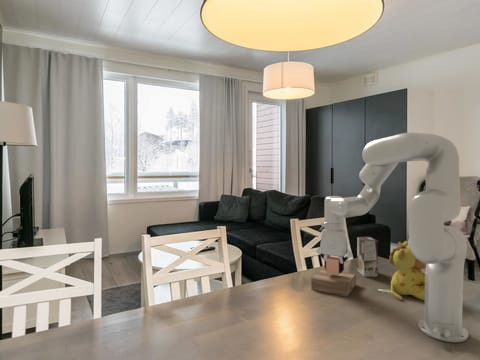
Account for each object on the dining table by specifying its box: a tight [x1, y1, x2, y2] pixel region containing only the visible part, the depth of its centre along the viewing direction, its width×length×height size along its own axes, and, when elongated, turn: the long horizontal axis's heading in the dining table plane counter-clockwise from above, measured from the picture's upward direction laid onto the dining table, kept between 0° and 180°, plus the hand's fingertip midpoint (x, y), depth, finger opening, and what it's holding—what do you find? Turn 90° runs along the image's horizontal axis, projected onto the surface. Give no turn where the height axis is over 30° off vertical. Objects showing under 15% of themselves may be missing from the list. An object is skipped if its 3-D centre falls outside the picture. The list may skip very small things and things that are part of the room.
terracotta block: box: [326, 255, 340, 275], centre depth 132 cm, size 5×5×6 cm
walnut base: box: [310, 268, 357, 297], centre depth 132 cm, size 14×14×4 cm
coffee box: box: [356, 236, 379, 278], centre depth 148 cm, size 9×6×16 cm
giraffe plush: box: [377, 240, 426, 301], centre depth 126 cm, size 20×24×19 cm
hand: (334, 270), depth 132 cm, fingers closed on terracotta block, 4 cm apart
